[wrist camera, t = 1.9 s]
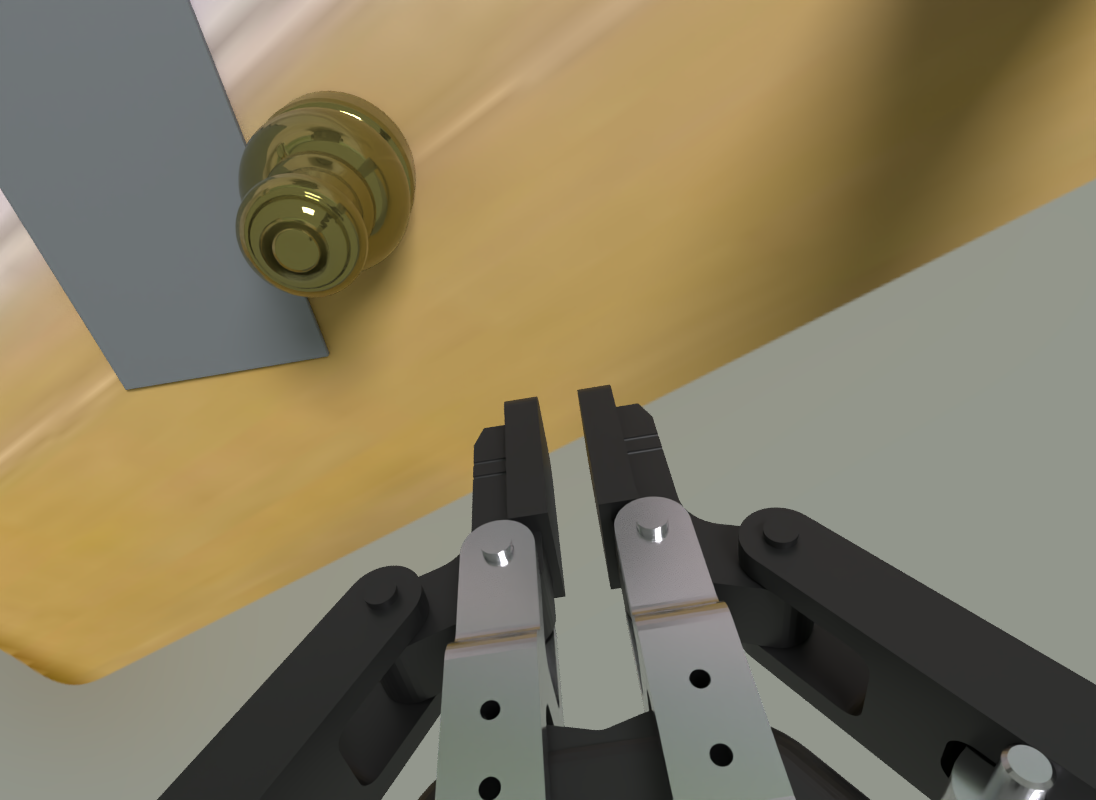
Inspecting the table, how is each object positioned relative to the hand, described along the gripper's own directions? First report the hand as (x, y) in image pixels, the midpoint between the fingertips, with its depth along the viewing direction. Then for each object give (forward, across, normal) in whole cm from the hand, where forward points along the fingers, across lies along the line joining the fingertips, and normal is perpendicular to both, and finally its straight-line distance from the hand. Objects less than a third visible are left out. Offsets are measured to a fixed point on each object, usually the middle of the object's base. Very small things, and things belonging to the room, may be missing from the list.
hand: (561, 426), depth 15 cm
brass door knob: (+23, +9, 0) cm, 25 cm away
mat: (+23, +19, 0) cm, 30 cm away
